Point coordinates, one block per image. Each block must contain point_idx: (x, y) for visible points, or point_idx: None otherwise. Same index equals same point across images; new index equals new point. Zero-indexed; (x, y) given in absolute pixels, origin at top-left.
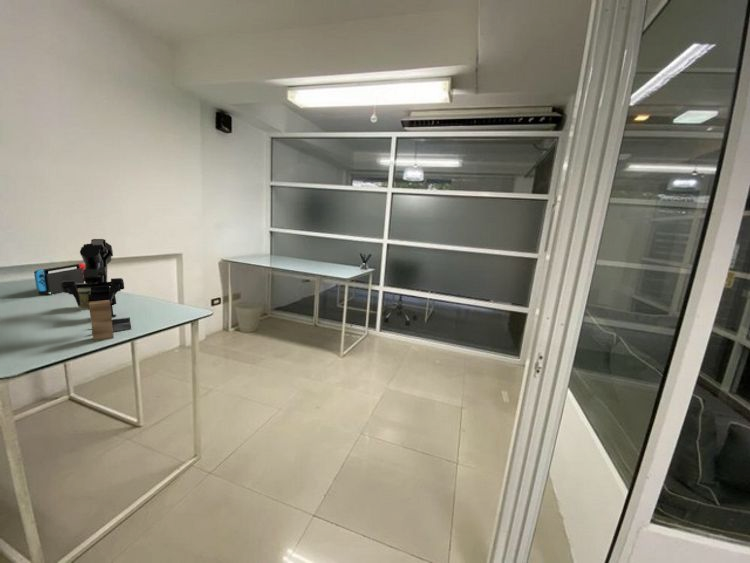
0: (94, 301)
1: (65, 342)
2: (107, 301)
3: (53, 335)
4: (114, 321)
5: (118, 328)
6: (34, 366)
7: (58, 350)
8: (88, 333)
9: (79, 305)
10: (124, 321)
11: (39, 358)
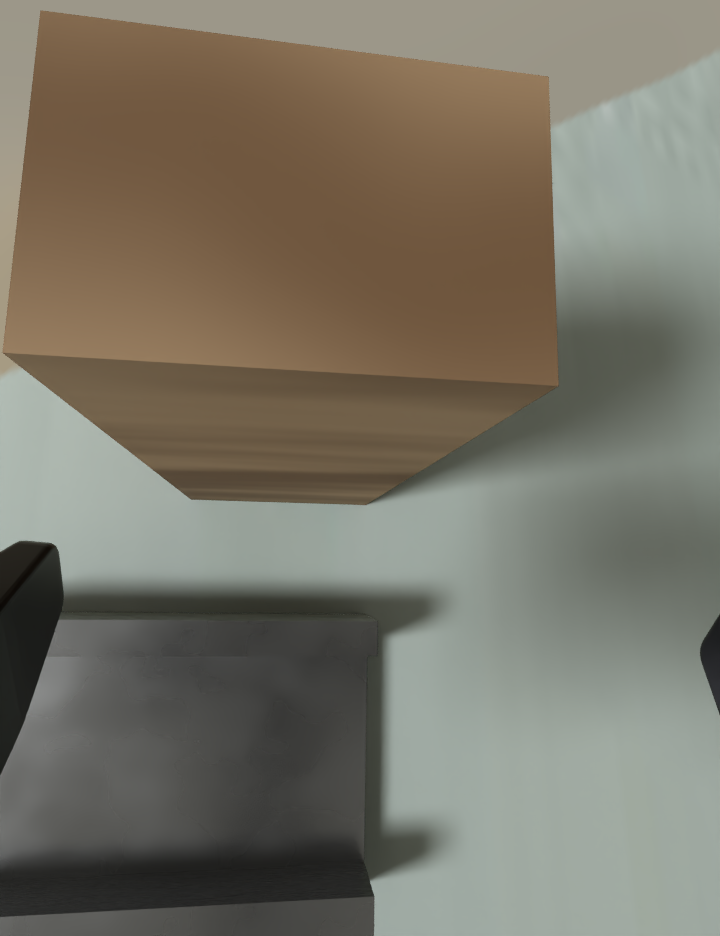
0: (430, 358)
1: (581, 494)
2: (81, 170)
3: (703, 789)
4: (133, 897)
5: (119, 616)
6: (692, 65)
7: (604, 305)
8: (416, 687)
9: (711, 634)
10: (11, 892)
11: (694, 202)
